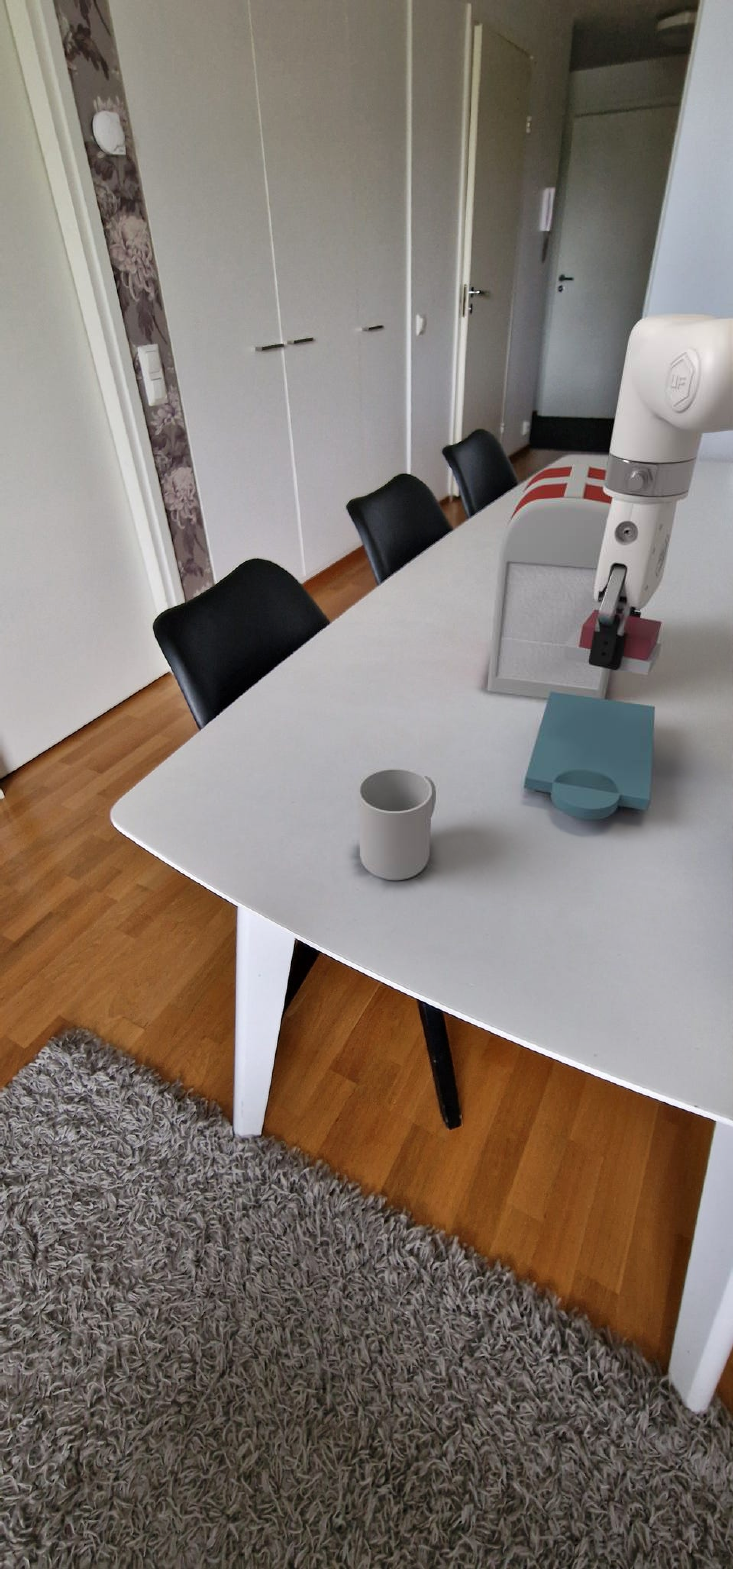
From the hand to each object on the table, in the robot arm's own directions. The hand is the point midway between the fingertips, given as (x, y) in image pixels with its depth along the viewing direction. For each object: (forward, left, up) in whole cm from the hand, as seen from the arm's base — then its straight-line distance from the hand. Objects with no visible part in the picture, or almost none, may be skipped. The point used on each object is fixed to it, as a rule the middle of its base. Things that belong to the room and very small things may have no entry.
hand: (611, 653), depth 75 cm
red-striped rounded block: (-2, -26, -16) cm, 30 cm away
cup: (+24, +12, -16) cm, 31 cm away
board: (0, +1, -15) cm, 15 cm away
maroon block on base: (0, 0, 0) cm, 0 cm away
